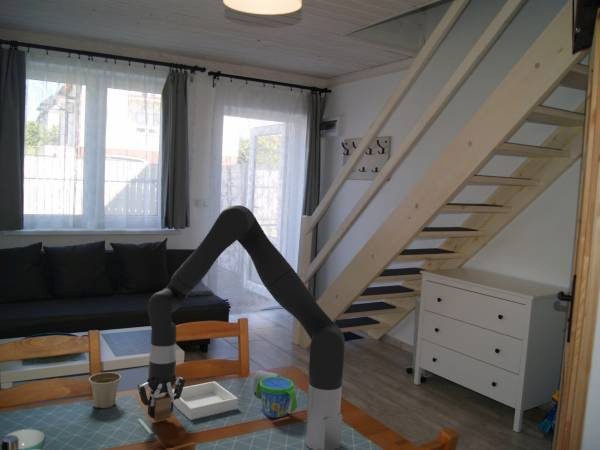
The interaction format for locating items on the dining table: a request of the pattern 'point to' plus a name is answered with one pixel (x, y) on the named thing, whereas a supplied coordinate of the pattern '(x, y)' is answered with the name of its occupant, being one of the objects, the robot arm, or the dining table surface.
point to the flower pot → (104, 388)
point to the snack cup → (276, 396)
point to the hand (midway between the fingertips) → (160, 415)
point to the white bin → (205, 400)
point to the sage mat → (145, 427)
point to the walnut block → (162, 407)
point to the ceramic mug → (261, 377)
